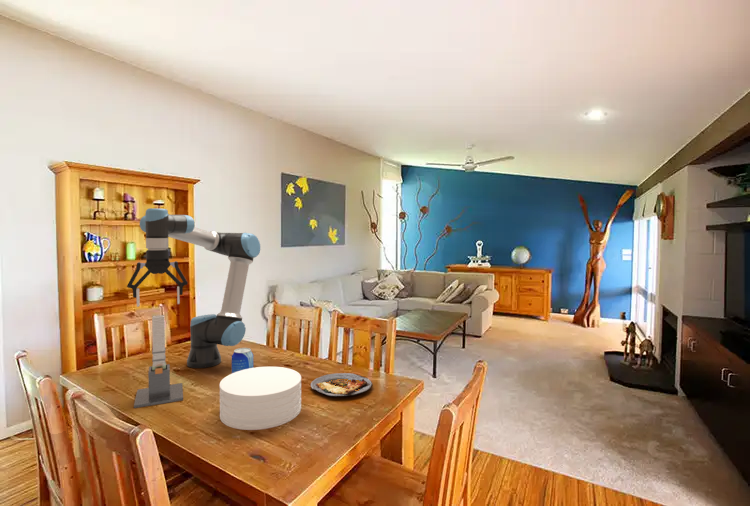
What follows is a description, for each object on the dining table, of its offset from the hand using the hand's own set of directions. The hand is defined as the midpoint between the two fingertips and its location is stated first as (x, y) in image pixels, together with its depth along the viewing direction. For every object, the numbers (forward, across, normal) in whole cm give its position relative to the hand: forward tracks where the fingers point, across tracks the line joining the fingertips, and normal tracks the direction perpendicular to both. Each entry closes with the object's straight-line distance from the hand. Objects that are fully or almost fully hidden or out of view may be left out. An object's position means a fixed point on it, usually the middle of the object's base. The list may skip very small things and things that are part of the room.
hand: (158, 304), depth 153 cm
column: (+26, 0, 0) cm, 26 cm away
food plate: (+36, -67, +22) cm, 79 cm away
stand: (+36, 0, 0) cm, 36 cm away
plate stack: (+36, -33, +29) cm, 57 cm away
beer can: (+36, -30, +6) cm, 47 cm away
